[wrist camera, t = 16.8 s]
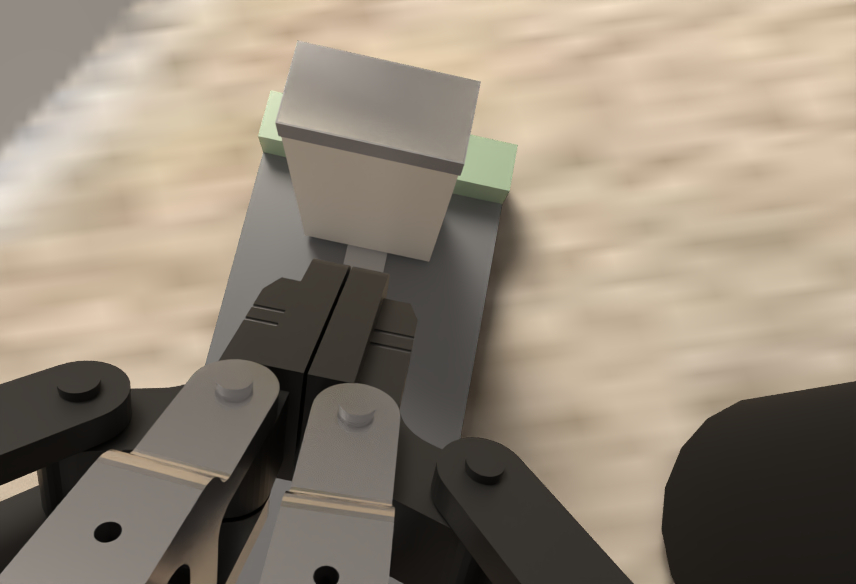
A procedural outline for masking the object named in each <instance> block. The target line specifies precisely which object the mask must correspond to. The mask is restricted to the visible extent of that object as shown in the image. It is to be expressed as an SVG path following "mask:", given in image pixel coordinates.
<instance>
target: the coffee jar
mask: <svg viewBox="0 0 856 584" xmlns="http://www.w3.org/2000/svg"><path fill="white" fill-rule="evenodd" d="M662 534H663V539H664V543H665V548H666V553H667V558H668V563H669V567H670V572H671V576H672V578H673V580H674V582H675V584H856V381H855V382H849V383H843V384H837V385H831V386H825V387H819V388H813V389H807V390H801V391H795V392H789V393H783V394H777V395H771V396H765V397H759V398H753V399H747V400H741V401H739V402H737V403H735V404H734V405H732V406H730V407H728V408H726V409H724V410H722V411H721V412H719V413H717V414H715V415H713V416H711V417H710V418H708V419H707V420H706V421H705V422H704V423H703V424H702V425H701V426H700V428H699V429H698V430H697V431H696V432H695V433H694V434H693V436H692V437H691V438H690V439H689V440H688V441H687V442H686V443H685V445H684V446H683V447H682V448H681V450H680V453H679V455H678V457H677V460H676V462H675V465H674V467H673V470H672V472H671V474H670V477H669V479H668V482H667V484H666V487H665V495H664V507H663V519H662Z"/></svg>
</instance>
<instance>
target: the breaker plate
mask: <svg viewBox="0 0 856 584" xmlns="http://www.w3.org/2000/svg"><path fill="white" fill-rule="evenodd" d="M282 96H283V93H280V92H276V91H270V95H269V98H268V102H267V106H266V109H265V113H264V117H263V120H262V124H261V127H260V131H259V135H258V137H259V140H260V144H261V147H262V150H263V155H262V159H261V162H260V166H259V170H258V173H257V177H256V181H255V184H254V188H253V191H252V195H251V199H250V202H249V206H248V210H247V213H246V217H245V221H244V224H243V228H242V232H241V235H240V239H239V243H238V246H237V250H236V254H235V257H234V261H233V265H232V268H231V272H230V276H229V279H228V283H227V287H226V290H225V294H224V298H223V301H222V305H221V309H220V312H219V316H218V320H217V323H216V327H215V331H214V334H213V338H212V342H211V345H210V349H209V353H208V356H207V360H206V364H205V366H206V365H208V364H210V363H213V362H217V361H219V359H220V357H221V356H222V354H223V352H224V351H225V349H226V348H227V346H228V344H229V343H230V341H231V339H232V338H233V336H234V335H235V333H236V331H237V330H238V328H239V326H240V325H241V323H242V321H243V320H244V319H245V318H246V315H247V313H248V312H249V310H250V308H251V307H253V304H254V302H255V300H256V299H257V297H258V295H259V294H260V292H261V290H262V289H263V288H264V287H266V286H268V285H269V284H271V283H273V282H274V281H276V280H278V279H279V278H281V277H283V278H288V279H293V280H298V281H301V280H302V278H303V276H304V274H305V272H306V271H307V269H308V267H309V265H310V263H311V261H312V260H313V258H315V259H320V260H325V261H330V262H335V263H340V264H345V265H350V266H351V269H352V267H353V266H354V267H359V268H364V269H369V270H374V271H379V272H384V273H389V284H388V290H387V296H386V299H390V300H395V301H400V302H405V303H410V304H411V306H412V308H413V310H414V313H415V315H416V317H417V319H418V322H417V327H416V332H415V338H414V343H413V348H412V353H411V358H410V363H409V368H408V373H407V378H406V383H405V388H404V392H403V397H402V401H401V406H400V414H401V417H402V419H403V421H404V423H405V424H406V425H407V427H408V428H409V429H410V430H411V431H412V432H413V433H414V434H415V435H417V436H418V437H420V438H421V439H422V440H424V441H426V442H428V443H430V444H432V445H434V446H436V447H438V448H440V449H443V448H444V447H445V446H446V445H448V444H449V443H451V442H453V441H455V440H458V439H460V437H461V432H462V426H463V421H464V415H465V410H466V404H467V398H468V393H469V387H470V382H471V376H472V370H473V365H474V359H475V354H476V348H477V343H478V337H479V331H480V326H481V320H482V315H483V309H484V303H485V298H486V292H487V287H488V281H489V275H490V270H491V264H492V259H493V253H494V248H495V242H496V236H497V231H498V225H499V220H500V214H501V208H502V204H503V202H504V200H505V198H506V196H507V195H508V193H509V191H510V185H511V180H512V174H513V169H514V163H515V157H516V152H517V146H518V145H515V144H511V143H506V142H502V141H497V140H493V139H488V138H484V137H479V136H475V135H470V139H469V144H468V149H467V154H466V159H465V164H464V167H463V170H462V173H461V176H459V175H458V178H457V181H456V184H455V187H454V190H453V193H452V196H451V199H450V202H449V205H448V208H447V211H446V214H445V217H444V220H443V223H442V225H441V228H440V231H439V234H438V237H437V240H436V243H435V246H434V249H433V252H432V255H431V258H430V261H429V262H428V261H423V260H419V259H414V258H409V257H405V256H400V255H395V254H391V253H386V252H381V251H377V250H372V249H367V248H362V247H358V246H353V245H348V244H344V243H339V242H334V241H330V240H325V239H320V238H316V237H311V236H306V235H305V233H304V229H303V225H302V221H301V216H300V212H299V208H298V204H297V200H296V196H295V192H294V187H293V183H292V179H291V175H290V171H289V167H288V163H287V159H286V154H285V150H284V146H283V142H282V138H281V137H280V136H278V132H277V128H276V124H275V121H276V118H277V114H278V110H279V107H280V103H281V99H282ZM291 484H292V481H288V480H283V479H278V478H276V479H275V482H274V484H273V487H272V489H271V497H270V508H269V515H268V517H267V520H266V522H265V524H264V526H263V528H262V530H261V532H260V534H259V536H258V538H257V540H256V542H255V544H254V546H253V548H252V550H251V552H250V554H249V557H248V559H247V561H246V563H245V565H244V567H243V569H242V571H241V573H240V575H239V577H238V579H237V581H236V583H235V584H259V583H260V579H261V576H262V572H263V568H264V565H265V561H266V557H267V553H268V550H269V546H270V542H271V539H272V535H273V531H274V528H275V524H276V520H277V516H278V513H279V509H280V505H281V502H282V499H283V496H284V493H285V491H290V487H291ZM388 584H403V583H401V582H399V581H397V580H396V579H394V578H392V577H390V576H389V583H388Z"/></svg>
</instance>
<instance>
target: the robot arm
mask: <svg viewBox="0 0 856 584" xmlns="http://www.w3.org/2000/svg"><path fill="white" fill-rule="evenodd" d="M388 284H389V273H384V272H379V271H374V270H369V269H364V268H359V267H354V266H353V267H352V269H351V266H350V265H345V264H340V263H335V262H330V261H325V260H320V259H315V258H313V260H312V261H311V263H310V265H309V267H308V269H307V271H306V272H305V274H304V276H303V278H302V280H301V281H298V280H293V279H288V278H283V277H281V278H279V279H278V280H276V281H274V282H273V283H271V284H269V285H268V286H266V287H264V288H263V289H262V290H261V292H260V294H259V295H258V297H257V299H256V300H255V302H254V304H253V307H251V308H250V310H249V312H248V313H247V315H246V318H245V319H244V320H243V321H242V323H241V325H240V326H239V328H238V330H237V331H236V333H235V335H234V336H233V338H232V339H231V341H230V343H229V344H228V346H227V348H226V349H225V351H224V352H223V354H222V356H221V357H220V359H219V361H217V362H213V363H210V364H208V365H206V366H204V367H202V368H200V369H199V370H198V371H196V372H195V373H194V374H193V375H192V377H191V378H190V379H189V380H188V382H187V383H186V384H185V385H181V386H176V387H170V388H142V389H130V381H129V378H128V376H127V375H126V374H125V373H124V372H123V371H122V370H121V369H119V368H117V367H116V366H113V365H111V364H108V363H104V362H98V361H76V362H70V363H65V364H62V365H58V366H55V367H52V368H49V369H46V370H43V371H40V372H37V373H34V374H31V375H28V376H24V377H21V378H18V379H15V380H12V381H9V382H6V383H3V384H0V485H3V484H5V483H8V482H10V481H13V480H15V479H17V478H20V477H22V476H25V475H27V474H29V473H32V472H34V471H37V475H38V482H39V485H38V486H36V487H34V488H31V489H29V490H27V491H24V492H22V493H20V494H17V495H15V496H13V497H10V498H8V499H6V500H3V501H1V502H0V584H235V583H236V581H237V579H238V577H239V575H240V573H241V571H242V569H243V567H244V565H245V563H246V561H247V559H248V557H249V554H250V552H251V550H252V548H253V546H254V544H255V542H256V540H257V538H258V536H259V534H260V532H261V530H262V528H263V526H264V524H265V522H266V520H267V517H268V515H269V508H270V497H271V489H272V487H273V484H274V482H275V479H276V478H278V479H283V480H288V481H292V484H291V487H290V491H285V493H284V496H283V499H282V502H281V505H280V509H279V513H278V516H277V520H276V524H275V528H274V531H273V535H272V539H271V542H270V546H269V550H268V553H267V557H266V561H265V565H264V568H263V572H262V576H261V579H260V583H259V584H388V583H389V576H390V577H392V578H394V579H396V580H397V581H399V582H401V583H403V584H633V583H632V581H631V580H630V579H629V578H628V577H627V576H626V575H625V574H624V573H623V572H622V570H621V569H620V568H619V567H618V566H617V565H616V564H615V563H614V562H613V560H612V559H611V558H610V557H609V556H608V555H607V554H606V553H605V552H604V551H603V549H602V548H601V547H600V546H599V545H598V544H597V543H596V542H595V541H594V540H593V538H592V537H591V536H590V535H589V534H588V533H587V532H586V531H585V530H584V528H583V527H582V526H581V525H580V524H579V523H578V522H577V521H576V520H575V519H574V517H573V516H572V515H571V514H570V513H569V512H568V511H567V510H566V509H565V508H564V506H563V505H562V504H561V503H560V502H559V501H558V500H557V499H556V498H555V496H554V495H553V494H552V493H551V492H550V491H549V490H548V489H547V488H546V487H545V485H544V484H543V483H542V482H541V481H540V480H539V479H538V478H537V477H536V476H535V474H534V473H533V472H532V471H531V470H530V469H529V468H528V467H527V466H526V465H525V463H524V462H523V461H522V460H521V459H520V458H519V457H518V456H517V455H516V454H515V453H514V452H513V451H511V450H510V449H508V448H507V447H505V446H503V445H501V444H499V443H497V442H494V441H491V440H488V439H483V438H472V437H471V438H462V439H458V440H455V441H453V442H451V443H449V444H448V445H446V446H445V447H444V448H443V449H440V448H438V447H436V446H434V445H432V444H430V443H428V442H426V441H424V440H422V439H421V438H420V437H418V436H417V435H415V434H414V433H413V432H412V431H411V430H410V429H409V428H408V427H407V425H406V424H405V423H404V421H403V419H402V417H401V414H400V406H401V401H402V397H403V392H404V388H405V383H406V378H407V373H408V368H409V363H410V358H411V353H412V348H413V343H414V338H415V332H416V327H417V322H418V319H417V317H416V315H415V313H414V310H413V308H412V306H411V304H410V303H405V302H400V301H395V300H390V299H386V296H387V290H388Z"/></svg>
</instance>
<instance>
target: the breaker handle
mask: <svg viewBox="0 0 856 584" xmlns="http://www.w3.org/2000/svg"><path fill="white" fill-rule="evenodd" d="M480 83H481V82H480V81H476V80H472V79H467V78H463V77H458V76H454V75H449V74H445V73H440V72H436V71H431V70H427V69H423V68H418V67H414V66H409V65H405V64H400V63H396V62H391V61H387V60H382V59H378V58H374V57H369V56H365V55H360V54H356V53H351V52H347V51H342V50H338V49H334V48H329V47H325V46H320V45H316V44H311V43H307V42H302V41H298V40H297V44H296V48H295V51H294V55H293V59H292V62H291V66H290V70H289V73H288V77H287V81H286V85H285V88H284V92H283V96H282V99H281V103H280V107H279V110H278V114H277V118H276V121H275V124H276V128H277V132H278V136H280V137H281V138H282V142H283V146H284V150H285V154H286V159H287V163H288V167H289V171H290V175H291V179H292V183H293V187H294V192H295V196H296V200H297V204H298V208H299V212H300V216H301V221H302V225H303V229H304V233H305V235H306V236H311V237H316V238H320V239H325V240H330V241H334V242H339V243H344V244H348V245H353V246H358V247H362V248H367V249H372V250H377V251H381V252H386V253H391V254H395V255H400V256H405V257H409V258H414V259H419V260H423V261H428V262H429V261H430V258H431V255H432V252H433V249H434V246H435V243H436V240H437V237H438V234H439V231H440V228H441V225H442V223H443V220H444V217H445V214H446V211H447V208H448V205H449V202H450V199H451V196H452V193H453V190H454V187H455V184H456V181H457V178H458V175H459V176H461V173H462V170H463V167H464V164H465V159H466V154H467V149H468V144H469V139H470V134H471V128H472V123H473V118H474V113H475V108H476V103H477V98H478V93H479V88H480Z"/></svg>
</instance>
